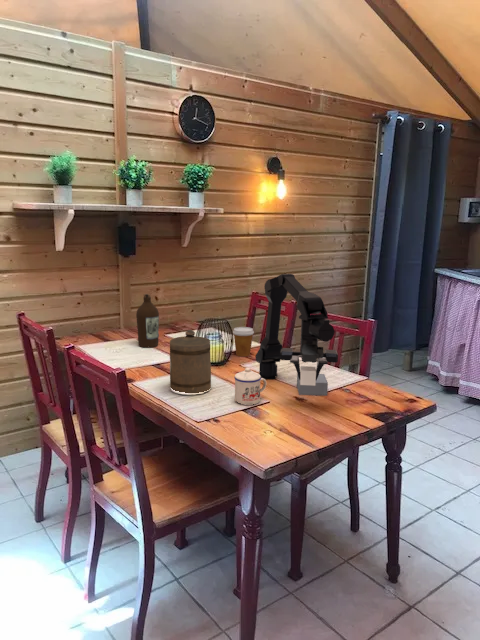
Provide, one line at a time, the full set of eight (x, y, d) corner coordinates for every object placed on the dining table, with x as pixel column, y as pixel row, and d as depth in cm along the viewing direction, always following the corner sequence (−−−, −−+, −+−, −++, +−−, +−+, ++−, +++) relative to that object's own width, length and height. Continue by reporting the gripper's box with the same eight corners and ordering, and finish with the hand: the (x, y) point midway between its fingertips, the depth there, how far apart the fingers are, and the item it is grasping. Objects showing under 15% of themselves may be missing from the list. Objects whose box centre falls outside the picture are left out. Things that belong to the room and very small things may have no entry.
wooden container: (188, 379, 192) (188, 324, 187) (219, 387, 184) (219, 329, 179) (161, 390, 180) (160, 331, 175) (192, 399, 172) (192, 337, 167)
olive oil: (133, 345, 240) (131, 294, 235) (151, 341, 247) (150, 291, 242) (145, 349, 233) (143, 296, 227) (164, 345, 240) (162, 294, 235)
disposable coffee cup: (257, 354, 227) (257, 328, 225) (246, 359, 219) (246, 332, 217) (239, 350, 232) (240, 325, 230) (228, 355, 224) (228, 329, 222)
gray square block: (298, 395, 177) (299, 382, 176) (296, 386, 187) (297, 373, 186) (327, 396, 177) (327, 382, 176) (323, 386, 186) (324, 373, 185)
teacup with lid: (242, 407, 165) (242, 374, 162) (229, 398, 172) (229, 366, 170) (272, 401, 170) (273, 368, 168) (258, 393, 178) (259, 361, 176)
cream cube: (300, 384, 164) (300, 370, 163) (300, 380, 169) (300, 365, 168) (315, 385, 164) (316, 371, 163) (314, 380, 169) (315, 366, 168)
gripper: (280, 339, 156) (278, 386, 160) (340, 341, 154) (337, 389, 157) (281, 331, 167) (280, 375, 170) (337, 333, 165) (335, 378, 168)
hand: (307, 379), depth 166 cm, fingers closed on cream cube, 5 cm apart
